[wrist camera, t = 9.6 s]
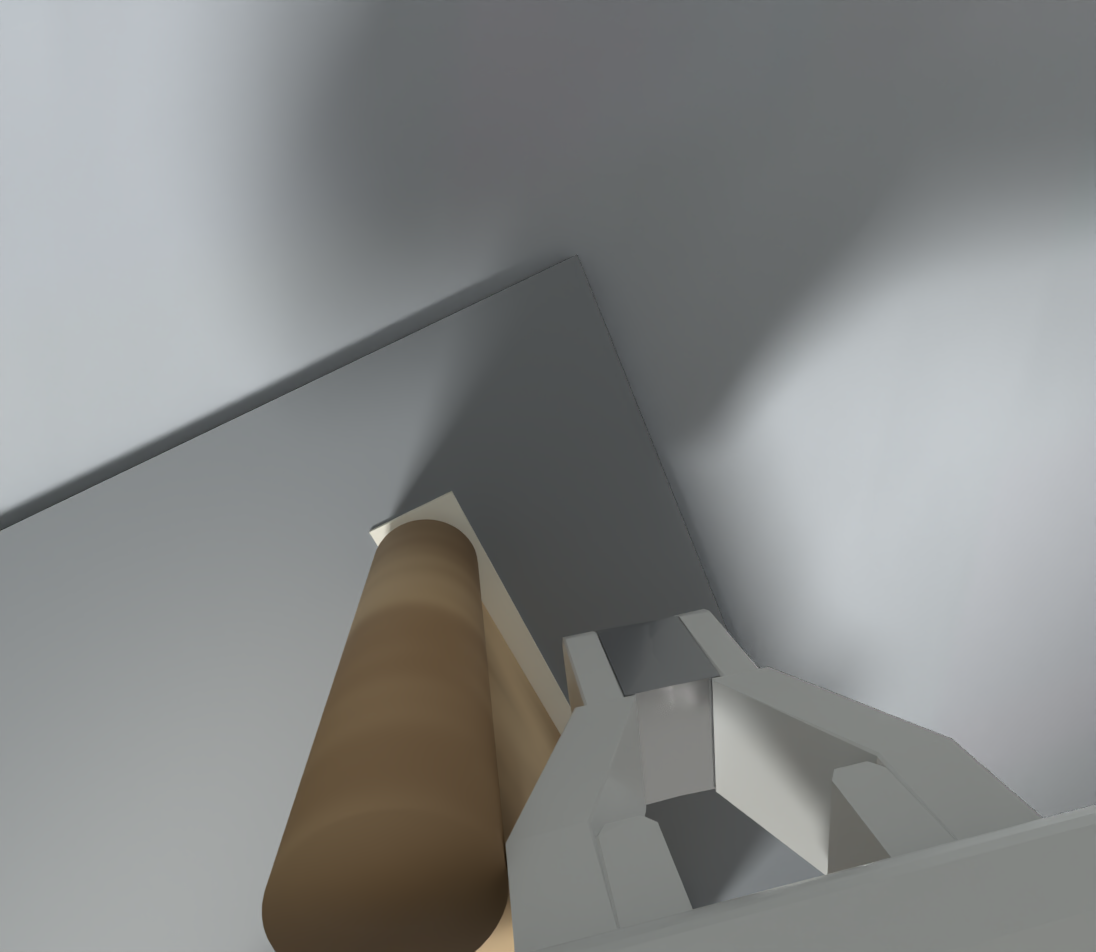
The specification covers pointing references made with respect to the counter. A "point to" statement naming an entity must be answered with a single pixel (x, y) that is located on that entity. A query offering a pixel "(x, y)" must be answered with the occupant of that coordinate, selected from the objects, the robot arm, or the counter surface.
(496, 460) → the card
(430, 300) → the counter surface
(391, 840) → the hinged fence panel
